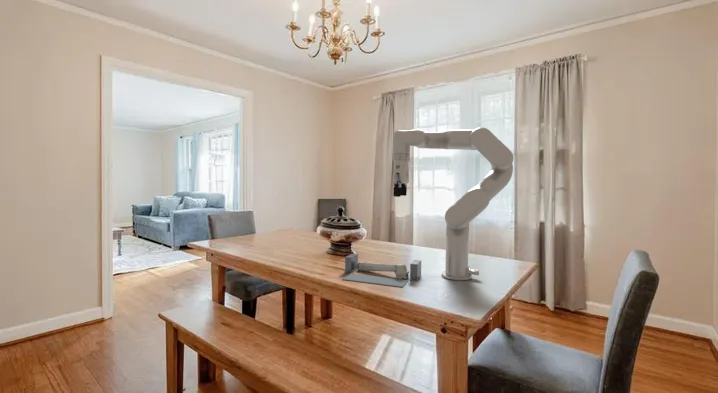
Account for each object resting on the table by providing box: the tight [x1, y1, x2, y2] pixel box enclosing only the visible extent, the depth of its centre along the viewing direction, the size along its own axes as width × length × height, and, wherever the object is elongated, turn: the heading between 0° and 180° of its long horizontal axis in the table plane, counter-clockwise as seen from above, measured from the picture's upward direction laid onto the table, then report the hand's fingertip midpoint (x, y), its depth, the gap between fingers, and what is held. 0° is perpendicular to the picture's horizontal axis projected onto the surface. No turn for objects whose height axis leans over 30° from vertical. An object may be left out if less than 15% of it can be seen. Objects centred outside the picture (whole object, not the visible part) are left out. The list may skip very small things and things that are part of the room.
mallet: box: [357, 261, 410, 280], centre depth 151 cm, size 5×7×25 cm
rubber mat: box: [341, 272, 409, 288], centre depth 142 cm, size 26×9×1 cm, turn 68°
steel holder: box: [344, 253, 422, 282], centre depth 151 cm, size 33×8×7 cm, turn 68°
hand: (400, 196), depth 155 cm, fingers open, 9 cm apart
